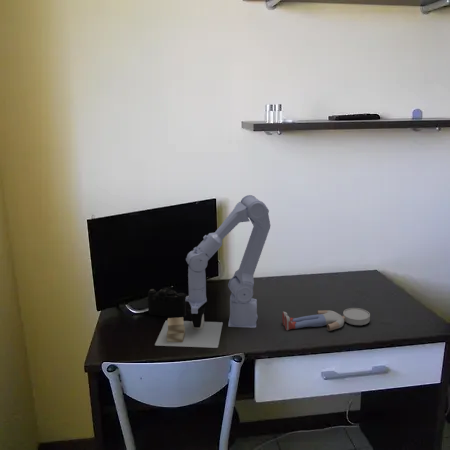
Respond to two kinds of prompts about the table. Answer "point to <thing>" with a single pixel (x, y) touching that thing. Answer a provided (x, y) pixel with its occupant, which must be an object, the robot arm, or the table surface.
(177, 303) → the camera
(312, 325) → the toy
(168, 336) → the slab bottom
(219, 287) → the table surface
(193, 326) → the cylinder
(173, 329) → the slab top
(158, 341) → the mat
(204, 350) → the table surface
